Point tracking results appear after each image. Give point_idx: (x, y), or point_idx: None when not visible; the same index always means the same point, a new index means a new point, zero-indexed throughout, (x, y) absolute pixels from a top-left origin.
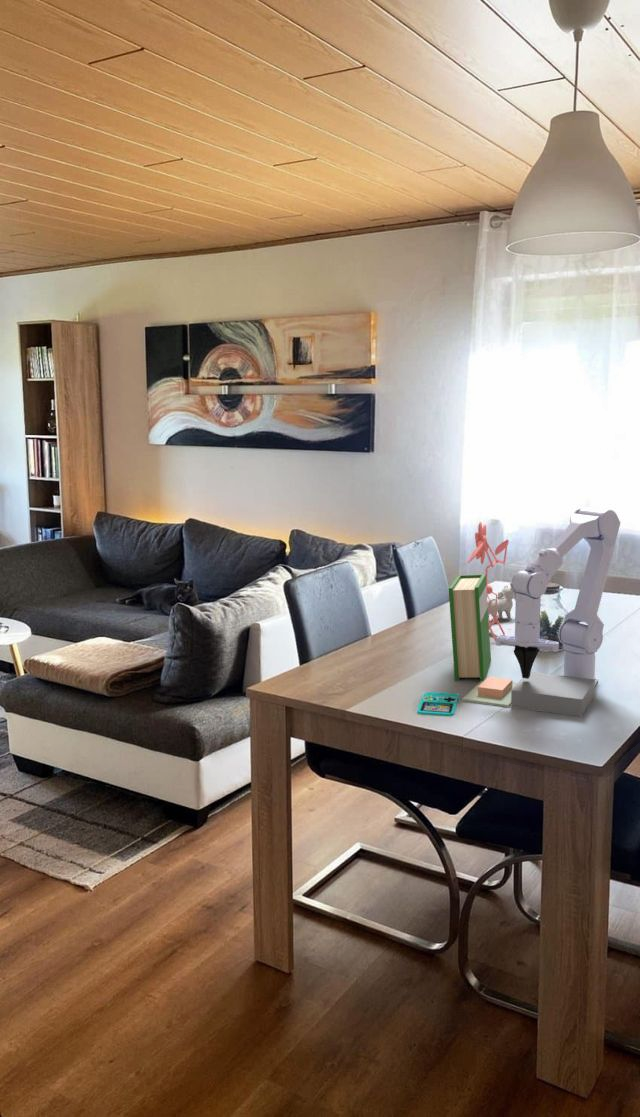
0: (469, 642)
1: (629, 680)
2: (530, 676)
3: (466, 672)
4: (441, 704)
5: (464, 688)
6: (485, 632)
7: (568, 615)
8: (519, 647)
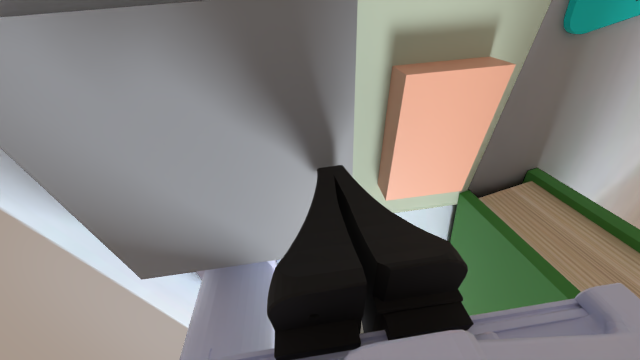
0: None
1: (174, 317)
2: None
3: (522, 197)
4: None
5: (520, 121)
6: None
7: None
8: (428, 317)
